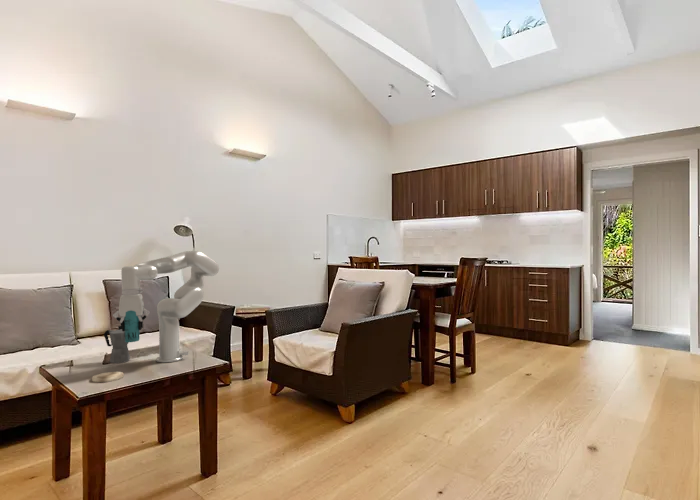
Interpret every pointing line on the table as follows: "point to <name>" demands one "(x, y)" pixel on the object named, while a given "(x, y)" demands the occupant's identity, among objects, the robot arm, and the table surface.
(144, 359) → the table surface
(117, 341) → the coffeepot
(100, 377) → the disc
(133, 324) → the beverage bottle
